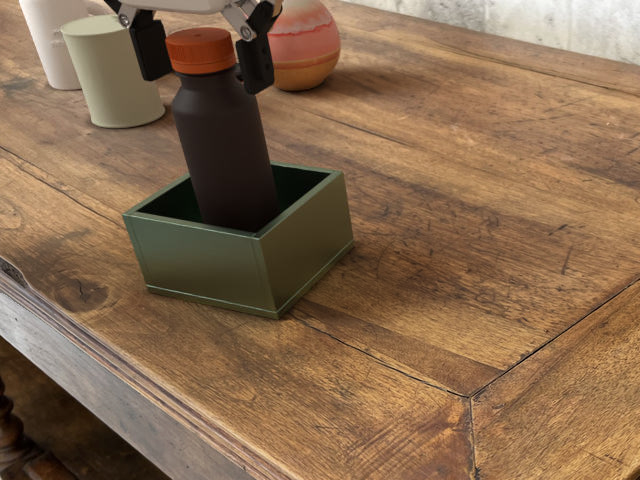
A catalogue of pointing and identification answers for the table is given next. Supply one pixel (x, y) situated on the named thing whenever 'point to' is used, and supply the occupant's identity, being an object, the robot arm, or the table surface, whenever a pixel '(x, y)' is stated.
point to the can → (111, 73)
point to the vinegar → (221, 132)
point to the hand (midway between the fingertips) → (209, 82)
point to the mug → (57, 35)
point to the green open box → (244, 243)
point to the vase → (303, 45)
